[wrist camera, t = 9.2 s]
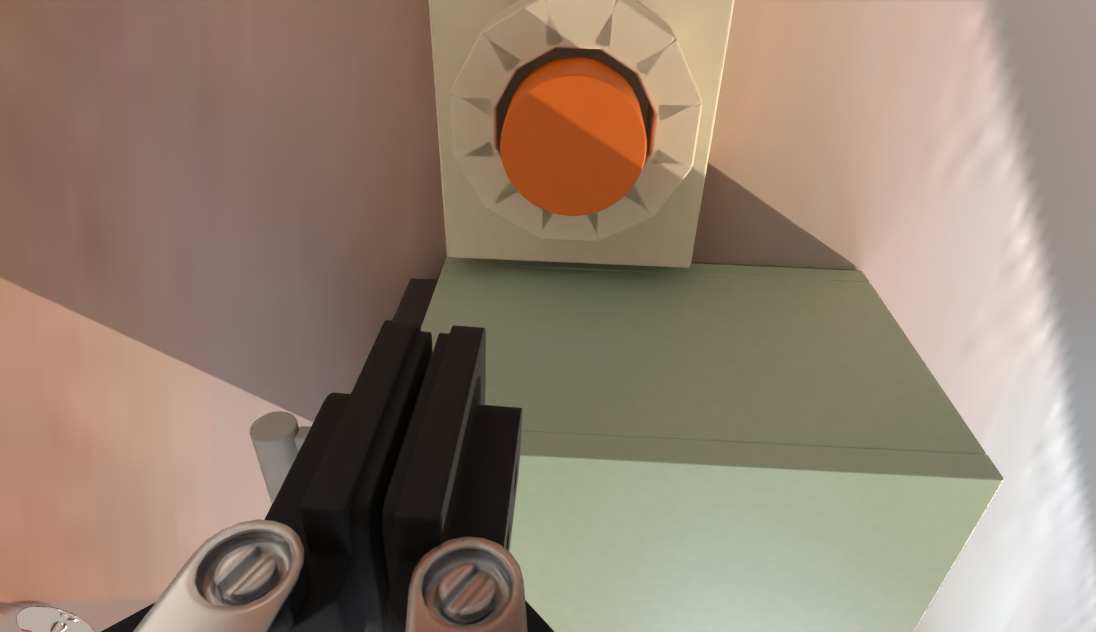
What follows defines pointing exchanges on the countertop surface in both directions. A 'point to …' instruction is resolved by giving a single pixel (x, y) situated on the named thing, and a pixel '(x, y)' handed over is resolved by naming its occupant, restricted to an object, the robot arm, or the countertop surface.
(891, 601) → the green drawer cabinet
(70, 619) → the wineglass
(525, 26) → the block
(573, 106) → the button
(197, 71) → the countertop surface
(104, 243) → the countertop surface
